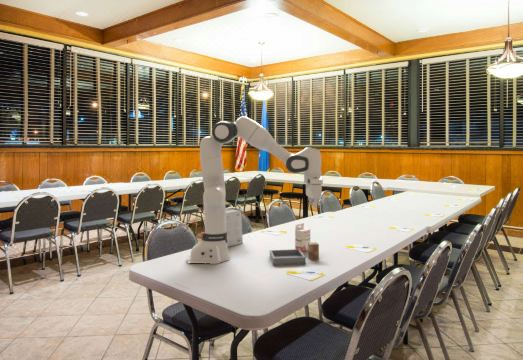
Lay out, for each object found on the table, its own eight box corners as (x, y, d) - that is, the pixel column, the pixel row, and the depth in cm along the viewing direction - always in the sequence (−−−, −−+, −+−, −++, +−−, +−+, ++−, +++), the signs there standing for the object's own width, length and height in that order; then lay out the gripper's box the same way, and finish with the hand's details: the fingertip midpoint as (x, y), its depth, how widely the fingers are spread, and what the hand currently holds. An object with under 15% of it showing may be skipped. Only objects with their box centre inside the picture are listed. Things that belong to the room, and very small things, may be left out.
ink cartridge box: (302, 252, 221) (302, 226, 219) (295, 251, 224) (294, 225, 223) (310, 249, 227) (310, 223, 226) (303, 248, 230) (303, 222, 229)
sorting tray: (273, 265, 197) (273, 258, 197) (269, 256, 213) (269, 250, 212) (305, 264, 198) (305, 257, 198) (299, 255, 214) (299, 249, 214)
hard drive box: (234, 241, 250) (234, 209, 248) (243, 243, 244) (242, 210, 243) (215, 246, 239) (214, 212, 237) (223, 248, 233) (222, 214, 232)
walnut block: (310, 260, 205) (310, 244, 205) (308, 257, 210) (308, 242, 209) (318, 259, 206) (318, 244, 205) (316, 257, 210) (316, 242, 210)
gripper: (302, 178, 215) (303, 203, 216) (310, 181, 194) (311, 209, 195) (314, 177, 215) (314, 203, 216) (323, 180, 195) (324, 209, 196)
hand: (313, 206), depth 206 cm, fingers open, 8 cm apart
